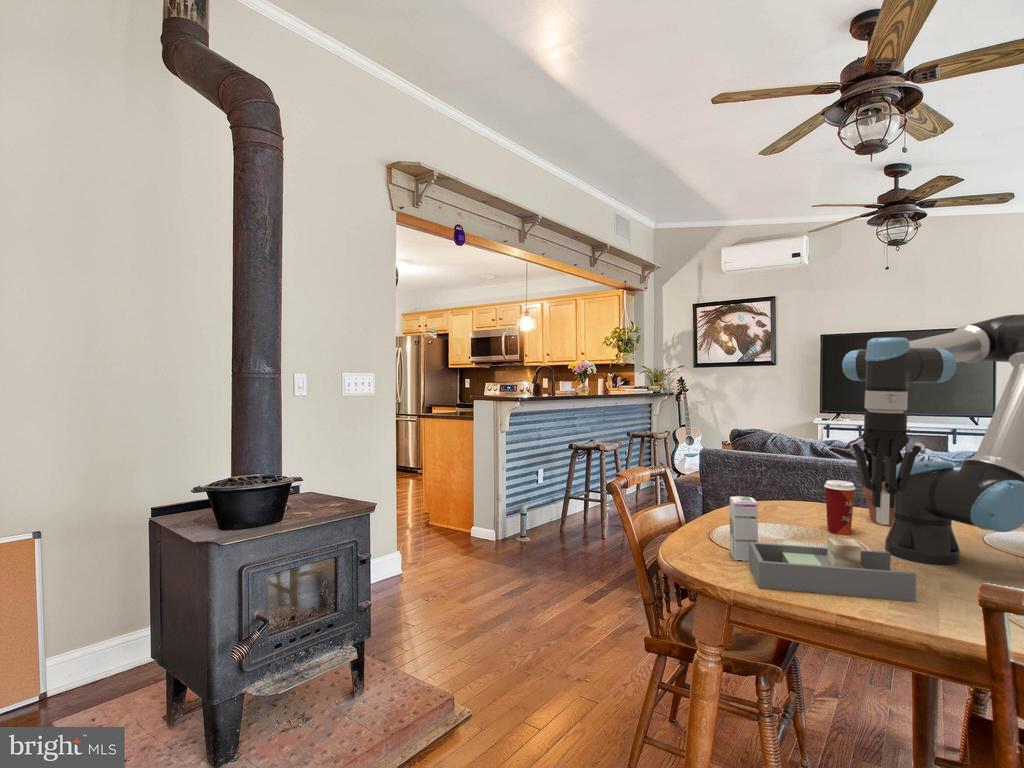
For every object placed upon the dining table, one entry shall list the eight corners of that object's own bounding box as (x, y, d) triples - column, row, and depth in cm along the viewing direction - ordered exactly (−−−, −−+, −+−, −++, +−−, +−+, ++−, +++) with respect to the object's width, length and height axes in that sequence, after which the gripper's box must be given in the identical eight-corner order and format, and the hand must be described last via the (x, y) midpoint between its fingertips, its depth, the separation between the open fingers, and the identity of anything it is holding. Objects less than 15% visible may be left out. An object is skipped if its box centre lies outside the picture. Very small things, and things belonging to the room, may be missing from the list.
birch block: (852, 562, 125) (853, 539, 125) (860, 570, 120) (860, 546, 120) (827, 560, 126) (827, 537, 126) (834, 568, 121) (834, 544, 121)
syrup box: (758, 562, 137) (759, 502, 136) (732, 560, 138) (733, 501, 137) (753, 554, 142) (754, 496, 142) (728, 553, 143) (729, 495, 143)
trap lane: (888, 576, 127) (888, 551, 127) (915, 601, 114) (916, 574, 114) (748, 565, 135) (749, 542, 134) (758, 587, 121) (759, 562, 121)
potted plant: (928, 528, 163) (929, 441, 162) (880, 529, 163) (882, 442, 162) (895, 516, 177) (896, 435, 176) (851, 516, 177) (852, 436, 176)
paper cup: (854, 537, 155) (855, 486, 155) (822, 533, 159) (823, 483, 159) (855, 530, 162) (856, 481, 162) (824, 526, 166) (825, 478, 166)
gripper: (856, 411, 118) (853, 525, 119) (929, 413, 115) (925, 530, 116) (845, 409, 125) (842, 516, 126) (913, 410, 122) (910, 520, 123)
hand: (882, 522), depth 121 cm, fingers closed
